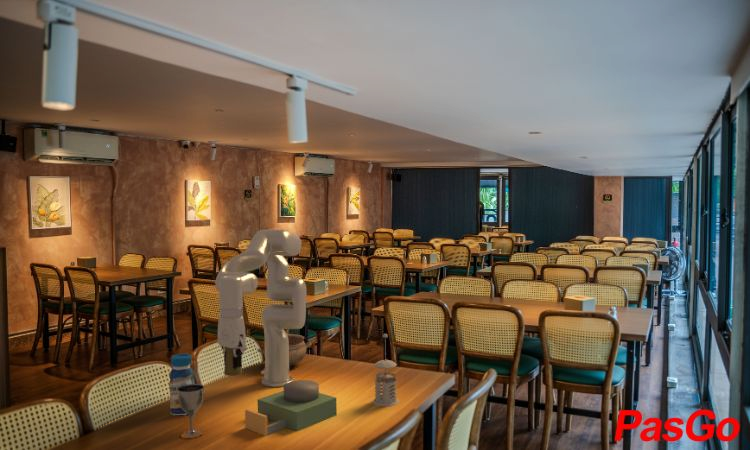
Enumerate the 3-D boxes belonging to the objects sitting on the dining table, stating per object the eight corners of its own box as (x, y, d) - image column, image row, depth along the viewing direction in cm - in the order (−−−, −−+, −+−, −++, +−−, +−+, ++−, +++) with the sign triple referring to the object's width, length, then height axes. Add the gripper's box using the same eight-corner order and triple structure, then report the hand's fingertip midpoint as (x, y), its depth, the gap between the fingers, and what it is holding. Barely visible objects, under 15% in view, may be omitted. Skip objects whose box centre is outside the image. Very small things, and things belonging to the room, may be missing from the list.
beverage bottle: (200, 409, 211) (198, 353, 210) (185, 417, 203) (183, 359, 202) (180, 406, 214) (178, 351, 213) (164, 415, 206) (163, 358, 205)
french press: (403, 399, 219) (402, 332, 218) (391, 409, 209) (390, 339, 208) (379, 395, 224) (378, 329, 222) (365, 405, 213) (365, 336, 212)
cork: (237, 376, 197) (236, 343, 196) (220, 375, 198) (219, 342, 198) (245, 370, 203) (244, 338, 202) (228, 369, 204) (227, 338, 203)
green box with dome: (236, 424, 197) (235, 394, 196) (297, 402, 217) (296, 375, 217) (275, 439, 184) (274, 407, 183) (336, 414, 204) (336, 386, 204)
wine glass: (182, 430, 192) (180, 384, 192) (207, 429, 193) (206, 383, 192) (175, 440, 184) (174, 392, 184) (202, 438, 185) (200, 391, 184)
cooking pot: (264, 375, 251) (263, 346, 251) (251, 364, 268) (251, 337, 267) (319, 367, 263) (318, 339, 262) (304, 357, 279) (303, 331, 279)
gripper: (207, 311, 202) (209, 364, 203) (237, 318, 191) (239, 374, 192) (225, 307, 208) (227, 359, 209) (256, 314, 197) (257, 368, 198)
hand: (233, 365), depth 200 cm, fingers closed on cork, 4 cm apart
